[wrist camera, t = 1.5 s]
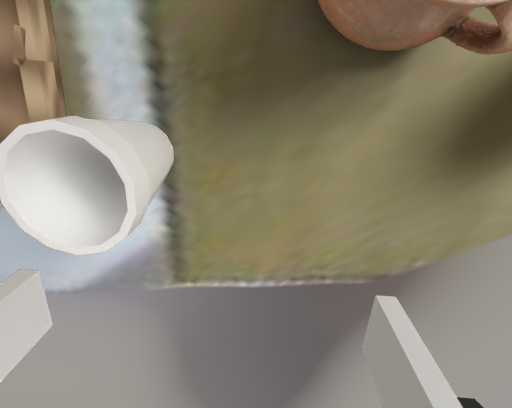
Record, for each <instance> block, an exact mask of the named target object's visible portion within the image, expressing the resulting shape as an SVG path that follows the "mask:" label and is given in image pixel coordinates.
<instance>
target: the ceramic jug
mask: <svg viewBox="0 0 512 408" xmlns="http://www.w3.org/2000/svg"><path fill="white" fill-rule="evenodd" d="M317 2H318V4H319V6H320V8H321V10H322V11H323V13H324V15H325V16H326V18H327V19H328V20H329V22H330V23H331V24H332V25H333V26H334V27H335V28H336V29H337V30H338V31H339V32H340V33H341V34H342V35H343V36H345V37H346V38H347V39H349V40H351V41H352V42H354V43H356V44H358V45H361V46H363V47H366V48H370V49H374V50H381V51H398V50H405V49H409V48H413V47H416V46H419V45H422V44H424V43H427V42H429V41H431V40H434V39H436V38H438V37H441V36H443V37H445V38H448V39H449V40H450V41H452V42H453V43H455V44H456V45H457V46H460V47H463V48H465V49H467V50H469V51H473V52H476V53H480V54H497V53H505V52H508V51H512V0H317ZM475 7H486V8H488V10H489V11H490V12H491V13H492V14H493V16H494V18H495V20H496V21H497V23H498V25H493V24H488V23H486V22H482V21H478V20H476V19H474V18H472V17H469V16H468V15H469V14H470V12H471V11H472V10H473V9H474V8H475Z"/></svg>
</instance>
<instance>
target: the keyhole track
mask: <svg viewBox="0 0 512 408" xmlns="http://www.w3.org/2000/svg"><path fill="white" fill-rule="evenodd" d="M62 117H67V115H66V109H65V102H64V95H63V89H62V82H61V75H60V68H59V62H58V55H57V48H56V41H55V35H54V28H53V21H52V14H51V8H50V1H49V0H0V143H2V142H3V141H4V140H5V139H6V138H7V137H8V136H9V135H10V134H11V133H12V132H13V131H14V130H15V129H16V128H17V127H18V126H19V125H23V124H28V123H33V122H39V121H44V120H49V119H55V118H62Z"/></svg>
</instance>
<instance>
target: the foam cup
mask: <svg viewBox="0 0 512 408" xmlns="http://www.w3.org/2000/svg"><path fill="white" fill-rule="evenodd" d="M173 161H174V155H173V146H172V144H171V143H170V141H169V139H168V137H167V135H166V134H165V133H164V132H162V131H161V130H160V129H159V128H158V127H156V126H155V125H151V124H148V123H145V122H139V121H118V120H96V119H85V118H82V117H78V116H69V117H62V118H55V119H49V120H44V121H39V122H33V123H28V124H23V125H19V126H18V127H17V128H16V129H15V130H14V131H13V132H12V133H11V134H10V135H9V136H8V137H7V138H6V139H5V140H4V141H3V142H2V143H0V199H1V202H2V204H3V206H4V207H5V208H6V210H7V211H8V212H9V213H10V215H11V216H12V217H13V219H14V220H15V221H16V223H17V224H18V225H19V226H20V228H21V229H22V230H23V231H25V232H26V233H28V234H29V235H31V236H32V237H34V238H35V239H37V240H38V241H40V242H41V243H43V244H44V245H46V246H47V247H49V248H52V249H56V250H60V251H63V252H67V253H71V254H75V255H86V254H93V253H101V252H106V251H108V250H109V249H110V248H112V247H113V246H115V245H116V244H117V243H119V242H120V241H122V240H123V239H124V238H126V237H127V236H128V235H129V234H130V233H131V232H132V231H133V230H134V229H135V228H136V227H137V226H138V225H139V224H140V222H141V220H142V218H143V216H144V213H145V211H146V209H147V206H148V205H149V203H150V201H151V200H152V198H153V197H154V195H155V193H156V192H157V190H158V189H159V187H160V185H161V184H162V182H163V181H164V179H165V177H166V176H167V174H168V172H169V170H170V168H171V166H172V163H173Z"/></svg>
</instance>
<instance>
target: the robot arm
mask: <svg viewBox="0 0 512 408" xmlns="http://www.w3.org/2000/svg"><path fill="white" fill-rule="evenodd" d="M52 326H53V324H52V320H51V316H50V312H49V308H48V304H47V300H46V296H45V292H44V288H43V284H42V280H41V276H40V272H39V270H26V269H19V270H18V271H17V272H15V273H14V274H12V275H11V276H10V277H8V278H7V279H5V280H4V281H3V282H1V283H0V382H1V381H2V380H3V379H4V378H5V377H6V376H7V374H8V373H9V372H10V371H11V370H12V369H13V368H14V367H15V366H16V365H17V364H18V363H19V362H20V361H21V359H22V358H23V357H24V356H25V355H26V354H27V353H28V352H29V351H30V349H31V348H32V347H33V346H34V345H35V344H36V343H37V342H38V341H39V340H40V339H41V337H42V336H43V335H44V334H45V333H46V332H47V331H48V330H49V329H50V328H51V327H52ZM362 350H363V353H364V356H365V359H366V362H367V364H368V367H369V370H370V373H371V376H372V378H373V381H374V384H375V387H376V389H377V392H378V395H379V398H380V401H381V404H382V406H383V408H483V407H482V406H481V405H480V404H479V403H478V402H477V401H476V400H475V399H470V398H458V397H456V395H455V394H454V392H453V391H452V389H451V387H450V385H449V384H448V382H447V381H446V379H445V377H444V376H443V374H442V372H441V371H440V369H439V368H438V366H437V364H436V363H435V361H434V359H433V358H432V356H431V354H430V353H429V351H428V349H427V348H426V346H425V344H424V343H423V341H422V339H421V338H420V336H419V335H418V333H417V331H416V329H415V328H414V326H413V325H412V323H411V321H410V320H409V318H408V316H407V315H406V313H405V311H404V310H403V308H402V306H401V305H400V303H399V301H398V300H397V298H396V297H388V296H375V300H374V304H373V308H372V312H371V316H370V320H369V324H368V328H367V332H366V336H365V339H364V343H363V347H362Z"/></svg>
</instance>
